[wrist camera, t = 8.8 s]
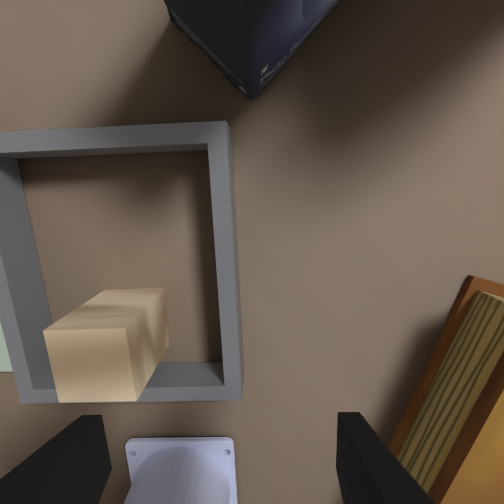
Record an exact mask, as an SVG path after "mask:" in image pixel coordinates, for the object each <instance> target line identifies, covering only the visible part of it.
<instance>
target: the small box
mask: <svg viewBox="0 0 504 504" xmlns="http://www.w3.org/2000/svg"><path fill="white" fill-rule="evenodd" d="M340 1H341V0H164V2H165V4H166V6H167V8H168V12H169V16H170V20H171V22H173V23H175V25H176V26H177V28H179V29H180V30H181V31H182V32H184V33H186V34H187V35H188V36H189V39H190V40H191V41H193V42H194V43H195V44H196V45H197V46H198V47H199V48H200V49H201V50H202V51H203V53H204V54H206V55H207V56H208V57H209V58H210V59H211V60H212V61H213V63H214V64H215V66H217V67H218V68H219V69H220V70H221V71H222V72H223V73H224V74H225V77H226V78H227V79H228V80H229V81H230V82H231V83H232V84H233V85H234V86H235V87H236V88H238V89H239V90H240V91H241V92H243V93H244V94H245V96H246V97H247V98H249V99H251V100H252V99H254V98H255V97H256V96H257V95H258V94H259V93H260V92H261V90H262V89H263V88H264V87H265V86H266V85H267V83H268V82H269V81H270V80H271V79H272V78H273V77H274V76H275V74H276V73H277V72H278V71H279V70H280V69H281V67H282V66H283V65H284V64H285V63H286V62H287V61H288V60H289V58H290V57H291V56H292V55H293V54H294V53H295V52H296V50H297V49H298V48H299V47H300V46H301V45H302V44H303V42H304V41H305V40H306V39H307V38H308V37H309V36H310V35H311V34H312V32H313V31H314V30H315V29H316V28H317V27H318V26H319V24H320V23H321V22H322V21H323V20H324V19H325V18H326V17H327V15H328V14H329V13H330V12H331V11H332V10H333V9H334V8H335V6H336V5H337V4H338V3H339V2H340Z"/></svg>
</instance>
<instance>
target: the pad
mask: <svg viewBox="0 0 504 504" xmlns="http://www.w3.org/2000/svg"><path fill="white" fill-rule="evenodd" d="M9 371H13V370H12V366H11V362H10V358H9V354H8V350H7V346H6V342H5V338H4V334H3V330H2V326H1V322H0V372H9Z"/></svg>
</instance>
